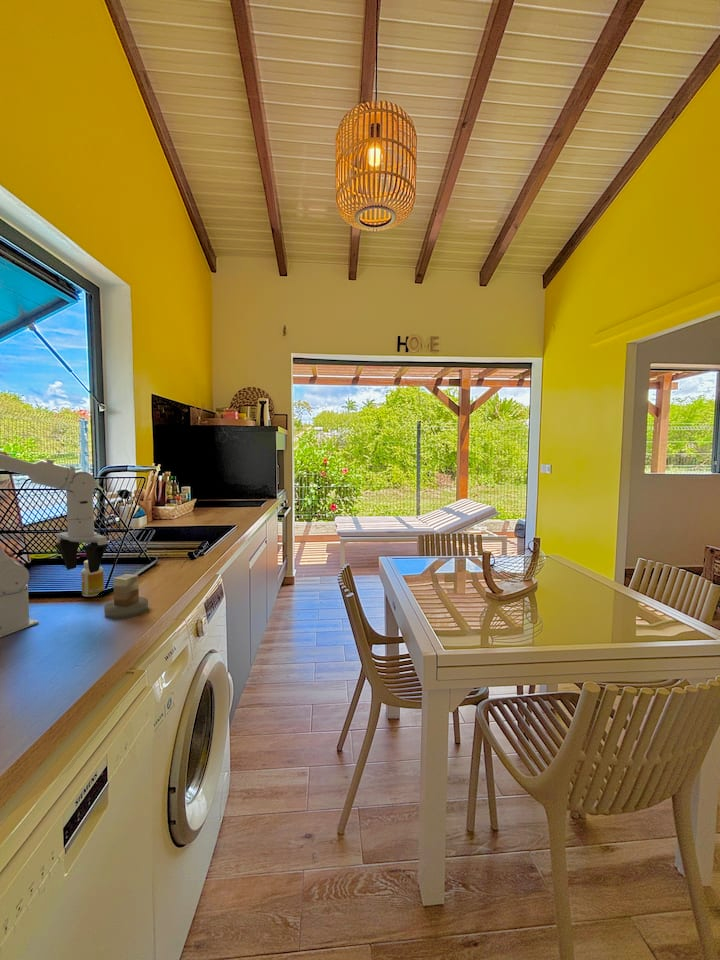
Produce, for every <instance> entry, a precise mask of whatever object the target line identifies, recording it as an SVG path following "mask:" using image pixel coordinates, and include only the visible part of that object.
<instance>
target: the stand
mask: <svg viewBox="0 0 720 960" xmlns="http://www.w3.org/2000/svg"><path fill="white" fill-rule="evenodd" d="M103 608H104V609H103V610H104V611H103V612H104V613H103V614H104V617H106V618H109V619H127V618H133V617H137V616H139V615H142V614H144V613H146V612H147V611H148V610H149V599H147V598H146V597H143V596H139V602H137V603H135V604H132V605H130V606H128V607H123V606H117V605H114V599H113V600H110V601H107V602H106V603H105V605H104V606H103ZM145 611H146V612H145Z"/></svg>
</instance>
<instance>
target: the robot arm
mask: <svg viewBox="0 0 720 960" xmlns="http://www.w3.org/2000/svg"><path fill="white" fill-rule="evenodd" d="M0 470H2V471H3V470H4V471H7V472H10V473H17V474H21V475H25V476H27V477H28V478H29V479H30V481H31V483H33V484H37V485H40V486H45V487H48V488H53V489H58V490H61V491H62V490H65V491H66V517H67V518H66V520H67V521H66V522H67V532H66V531H63V532H57V533H56V541H57V542H58V543H55V544H54V545H55V548H56V549H57V550H58V552H59V554H60V555H61V557H62V559H63V562H64V565H65V568H66V570H69V571H70V570H74V569H76V568H77V563H78V551H79V546H80V544H81V543H83V544H88V545H84V546H82V549H83V550H84V552H85V555H86V558H87V559H86V560H88V566H89V571H90V573H93V572H96V571H99V567H101V561H102V558H103V555H104V554H105V552H106V550H107V548H108V547H109V544H108V536H106V535H102V534H99V533H98V532H97V531H95V519H94V518H95V517H94V516H95V515H94V497H93V493H94V490H95V489H96V487H97V481H96V480H95V478H94V475H92V474H91V473H89V472H88V471H82V470H78V469H76V467H75V466H71V465H70V466H64V465H61V464H58V463H55V461H54V460H52V459H49V458H47V459H46V460H44V459H40V460H38V461H35V462H30V461H26V460H23V459H19V458H16V457H13V456H11V455H7V454H3V453H0ZM29 581H30V572H29V570H28V568H27V567H25V566H24V565H21V564H19V563H18V562H17V560H16V559H13V558H11V557H10V556H9V555H8V554H7V553H6V552H5V550H3V548H2V547H1V546H0V638H2V637H5V636H7V635H11V634H14V633H16V632H19V631H21V630H23V629H27V628H28V627H31V626H33V625H37V624H39V623H40V621H39V620H37V619H31V618H30V604H29V603H30V602H29V585H28V583H29Z"/></svg>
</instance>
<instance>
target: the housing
mask: <svg viewBox="0 0 720 960" xmlns="http://www.w3.org/2000/svg"><path fill="white" fill-rule="evenodd" d="M112 579H113V600H114V605H117V606H123V607H128V606H130V605H132V604H135V603H137V602H139V597H140V594H139V588H140V587H139V575H137V574H132V573H131V574H129V573H124V574H122V575H117V576H116V577H113V578H112Z"/></svg>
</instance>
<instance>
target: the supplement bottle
mask: <svg viewBox="0 0 720 960" xmlns="http://www.w3.org/2000/svg"><path fill="white" fill-rule="evenodd" d="M83 567H84V568H82V570H81V572H80V573H81V575H80V576H81V596H83V597H86V598H87V597H88V598H90V597H98V596H99V595H98V594H99V593H100V592H102V591H103V590H104V591H105V582H104V580H105V579H104V578H105V577H104V568H103V567H102V566H100V567H99V571H96V572H93V573H90V571H89V566H88V559H86V560H84V561H83ZM97 595H98V596H97Z"/></svg>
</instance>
